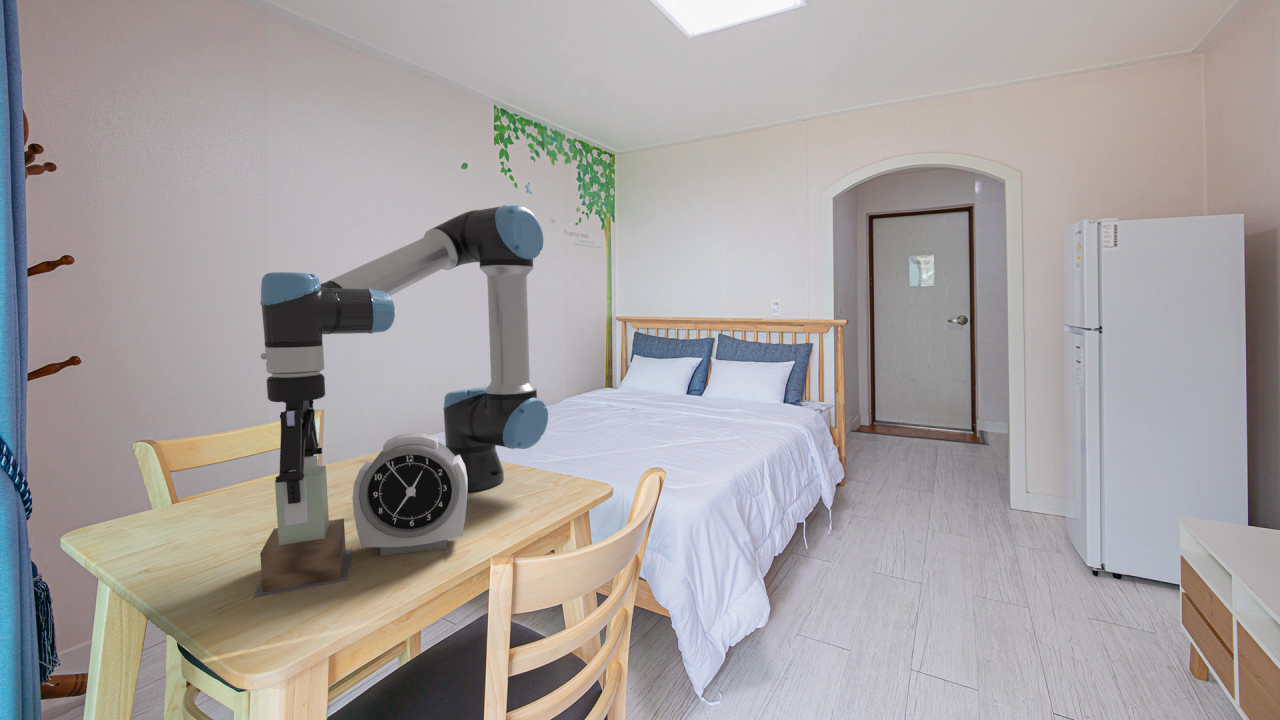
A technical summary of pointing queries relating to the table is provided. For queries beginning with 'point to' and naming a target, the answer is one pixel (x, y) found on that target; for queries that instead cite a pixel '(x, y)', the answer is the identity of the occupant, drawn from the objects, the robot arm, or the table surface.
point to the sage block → (315, 509)
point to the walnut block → (303, 559)
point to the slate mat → (343, 578)
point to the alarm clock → (410, 496)
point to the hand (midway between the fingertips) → (303, 508)
